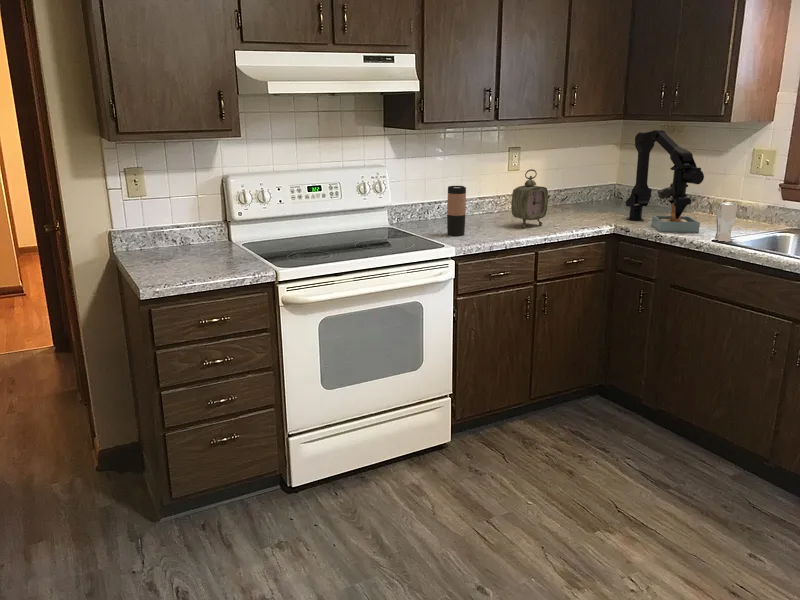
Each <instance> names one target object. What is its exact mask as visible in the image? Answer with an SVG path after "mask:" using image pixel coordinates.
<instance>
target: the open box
mask: <svg viewBox="0 0 800 600" xmlns="http://www.w3.org/2000/svg"><path fill="white" fill-rule="evenodd" d="M670 219H671V215H652V216H651V227H652V226H653V227H652V228H654V229H655V230H656V231H658V232H659V233H674V232H699V233H700V227H701V226H700V225H701V223H700V221H698V220H697V219H695V218H694V217H692V216H690V215H689V216H688V215H685V216H684V215H681V219H680V222H670Z"/></svg>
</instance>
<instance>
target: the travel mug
mask: <svg viewBox="0 0 800 600" xmlns="http://www.w3.org/2000/svg"><path fill="white" fill-rule="evenodd" d="M446 203H447V206H446V207H447V208H446V211H447V212H446V221H447V222H446V227H447V231H446V233H447V236H448V237H450V236H451V237H462V236H465V229H466V215H467V213H466V212H467V211H466V210H467V209H466V207H467V206H466V204H467V187H466V186H464V185H448V186H447V202H446Z"/></svg>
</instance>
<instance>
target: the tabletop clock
mask: <svg viewBox="0 0 800 600" xmlns="http://www.w3.org/2000/svg"><path fill="white" fill-rule="evenodd" d="M529 172H534V173H535V175H534V176H532V175H529V177H528V176H527V174H528V173H529ZM537 175H538V173H537V171H536V170H535V169H533V168H532V169H528V170H526V172H525V174H524V177H525V178H526V179H527V180H525V182H524V184H523V185H519V186H517V187H515V188H514V189H513V190H512V193H511V214H512V216H513V217H515V218H516V219H521V220H522V224H521V228H522V229H525V228H526V225H527V222H526V221H536V220H537V221H538V225H539V226H543V222H542V221H540V220H541V219H543V218H545V217H546V215H547V211H548V204H549V193H548V188H547V187H545V186H540V185H537V182H536V181H535V180H534V179H535V178H536V177H537Z"/></svg>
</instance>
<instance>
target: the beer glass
mask: <svg viewBox="0 0 800 600" xmlns="http://www.w3.org/2000/svg"><path fill="white" fill-rule="evenodd" d="M737 205H738V203H735V202H726V201H724V202H723V201H722V202H718V205H717V210H716V216H715V217H716V218H715V219H716V220H715V221H716V222H715V223H716V233H715V235H714V239H716V240H720V241H725V242H724V243H730V241H731V242H732V229H733V226H734V224H735V221H736V217H737V209H738V208H737Z"/></svg>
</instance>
